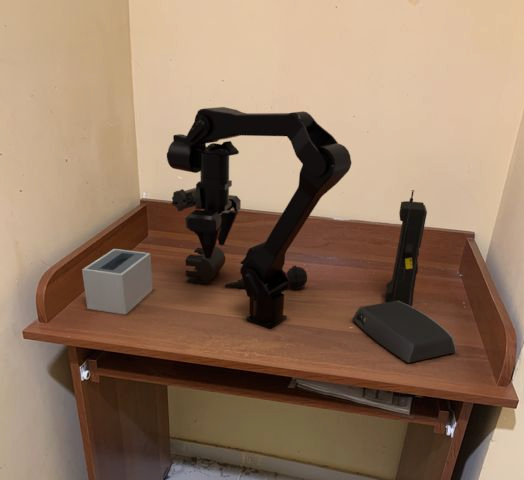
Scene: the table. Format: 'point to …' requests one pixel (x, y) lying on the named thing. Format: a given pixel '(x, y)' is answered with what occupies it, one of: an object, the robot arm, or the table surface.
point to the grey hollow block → (118, 281)
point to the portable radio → (407, 252)
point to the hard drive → (405, 331)
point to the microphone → (294, 275)
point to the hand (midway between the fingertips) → (214, 251)
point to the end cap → (204, 265)
